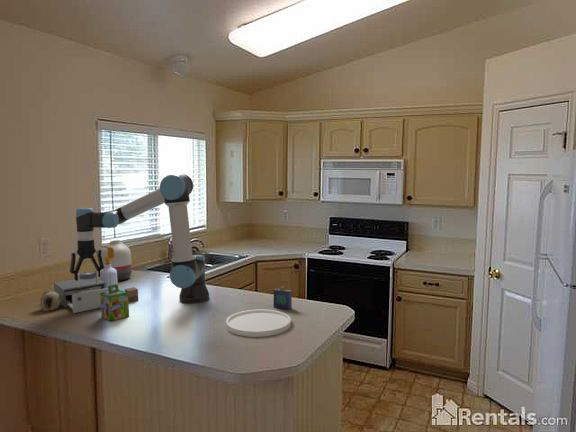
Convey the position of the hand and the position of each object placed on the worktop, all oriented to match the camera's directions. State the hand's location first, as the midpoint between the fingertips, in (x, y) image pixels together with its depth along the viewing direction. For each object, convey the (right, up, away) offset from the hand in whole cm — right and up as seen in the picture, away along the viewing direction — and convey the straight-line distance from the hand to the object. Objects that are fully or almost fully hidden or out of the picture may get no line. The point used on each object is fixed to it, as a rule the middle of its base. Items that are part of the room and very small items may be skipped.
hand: (88, 285), depth 216 cm
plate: (+86, -13, -27) cm, 91 cm away
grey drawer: (-1, -10, +2) cm, 10 cm away
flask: (+96, -10, -5) cm, 97 cm away
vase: (-6, -5, +54) cm, 55 cm away
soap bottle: (-2, -7, +31) cm, 32 cm away
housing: (-9, -9, +12) cm, 18 cm away
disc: (0, +4, 0) cm, 4 cm away
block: (+18, -9, +9) cm, 22 cm away
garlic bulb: (-16, -11, -4) cm, 20 cm away
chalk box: (+20, -12, -16) cm, 28 cm away
